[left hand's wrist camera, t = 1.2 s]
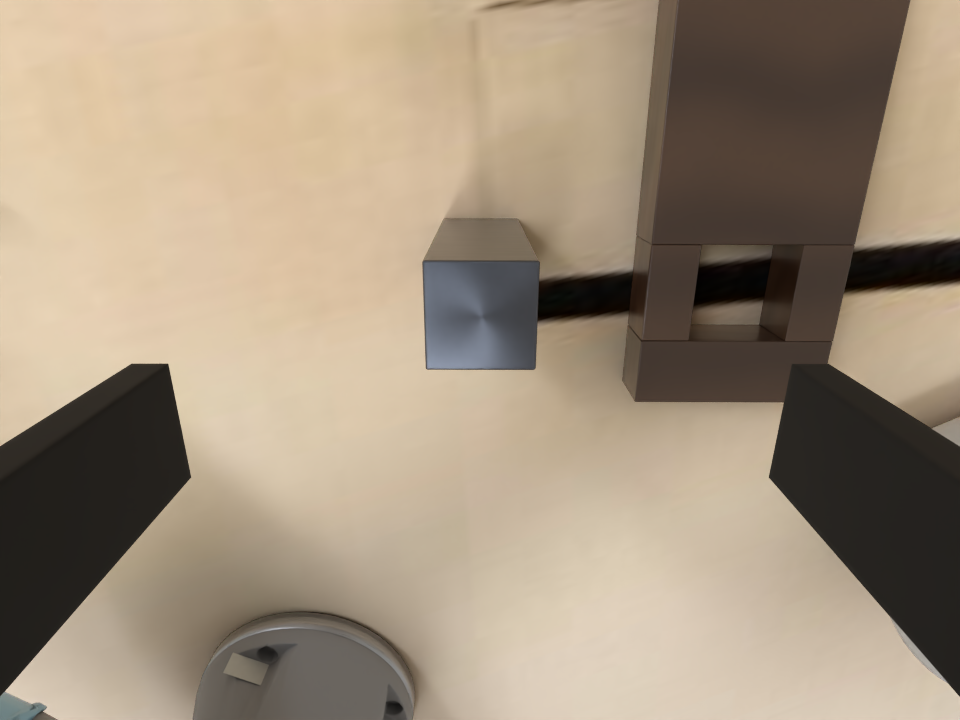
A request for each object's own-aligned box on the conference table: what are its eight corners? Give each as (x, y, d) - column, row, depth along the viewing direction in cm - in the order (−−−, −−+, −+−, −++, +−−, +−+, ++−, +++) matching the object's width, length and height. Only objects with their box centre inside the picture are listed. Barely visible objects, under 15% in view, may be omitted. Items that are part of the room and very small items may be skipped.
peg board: (791, 381, 34) (925, 484, 24) (622, 381, 34) (683, 483, 24) (975, -509, 22) (1429, -1109, 11) (707, -511, 22) (916, -1111, 11)
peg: (516, 291, 32) (535, 370, 21) (444, 291, 32) (425, 370, 21) (518, 218, 31) (540, 260, 20) (443, 218, 31) (422, 260, 20)
